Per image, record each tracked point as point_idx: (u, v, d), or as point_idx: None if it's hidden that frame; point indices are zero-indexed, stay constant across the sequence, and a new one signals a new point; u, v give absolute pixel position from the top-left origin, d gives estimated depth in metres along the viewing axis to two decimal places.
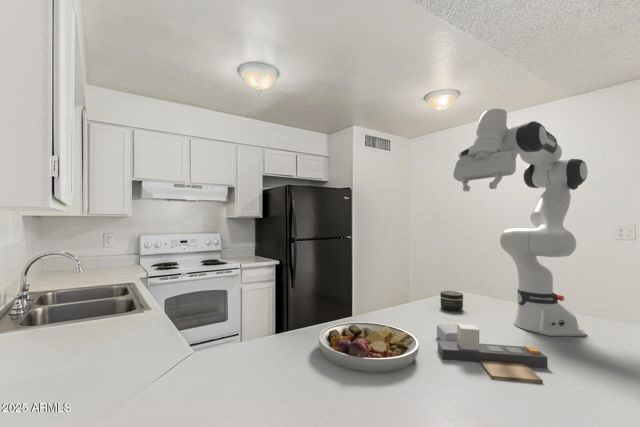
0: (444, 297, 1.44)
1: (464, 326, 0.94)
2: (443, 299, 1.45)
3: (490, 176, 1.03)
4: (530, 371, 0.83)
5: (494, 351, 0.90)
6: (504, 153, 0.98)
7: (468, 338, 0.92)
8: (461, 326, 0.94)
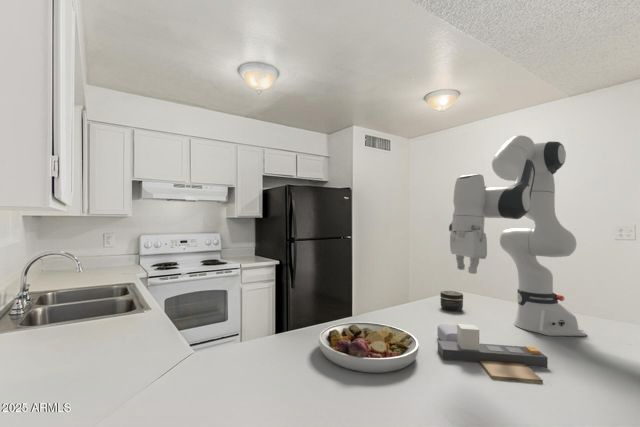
0: (444, 297, 1.44)
1: (464, 326, 0.94)
2: (443, 299, 1.45)
3: None
4: (530, 371, 0.83)
5: (494, 351, 0.90)
6: (471, 235, 0.88)
7: (468, 338, 0.92)
8: (461, 326, 0.94)
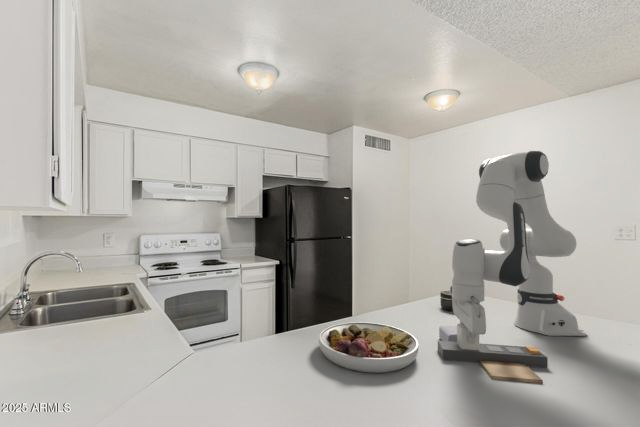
0: (444, 297, 1.44)
1: (464, 326, 0.94)
2: (443, 299, 1.45)
3: None
4: (530, 371, 0.83)
5: (494, 351, 0.90)
6: (469, 309, 0.87)
7: None
8: (461, 326, 0.94)
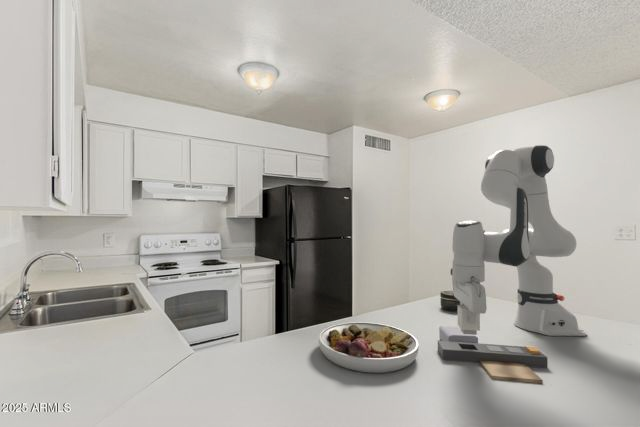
0: (444, 297, 1.44)
1: (464, 307, 0.94)
2: (443, 299, 1.45)
3: None
4: (530, 371, 0.83)
5: (494, 351, 0.90)
6: (470, 289, 0.87)
7: None
8: (461, 307, 0.94)
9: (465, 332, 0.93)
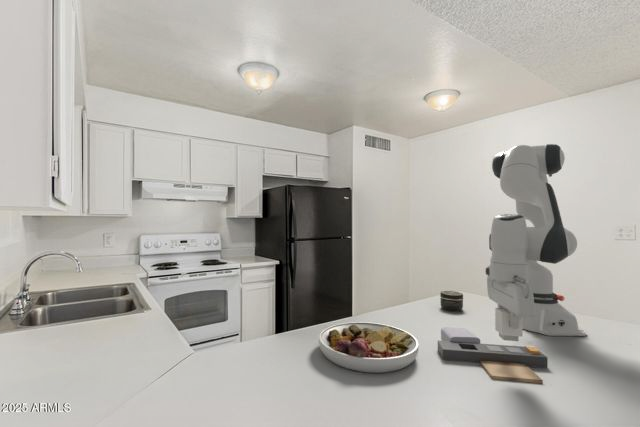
0: (444, 297, 1.44)
1: (504, 310, 0.84)
2: (443, 299, 1.45)
3: None
4: (530, 371, 0.83)
5: (494, 351, 0.90)
6: (514, 290, 0.77)
7: None
8: (501, 310, 0.84)
9: (505, 338, 0.83)
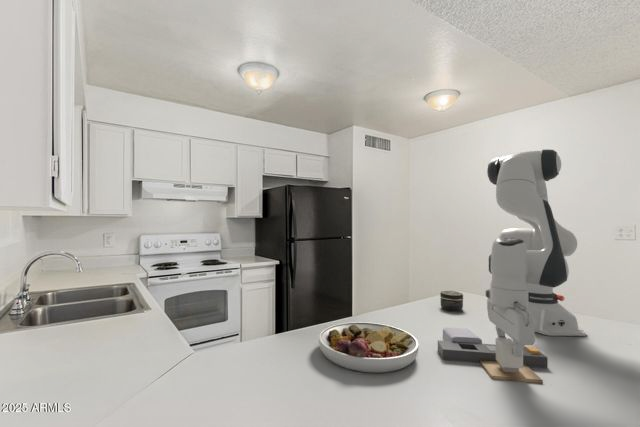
0: (444, 297, 1.44)
1: (505, 341, 0.84)
2: (443, 299, 1.45)
3: None
4: (530, 371, 0.83)
5: (494, 351, 0.90)
6: (514, 317, 0.77)
7: (511, 355, 0.82)
8: (501, 341, 0.84)
9: (506, 370, 0.83)
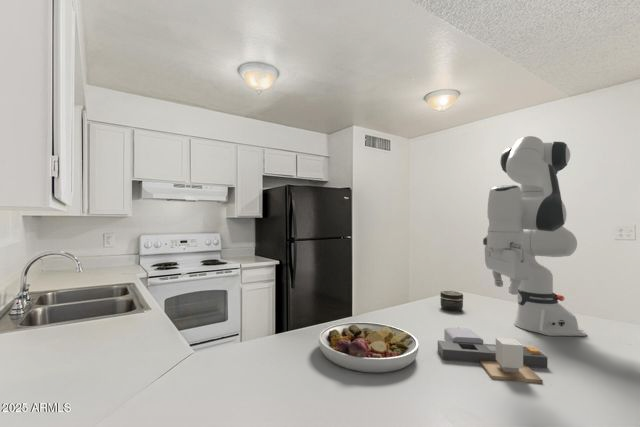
0: (444, 297, 1.44)
1: (505, 341, 0.84)
2: (443, 299, 1.45)
3: None
4: (530, 371, 0.83)
5: (494, 351, 0.90)
6: (510, 255, 0.81)
7: (511, 355, 0.82)
8: (501, 341, 0.84)
9: (506, 370, 0.83)
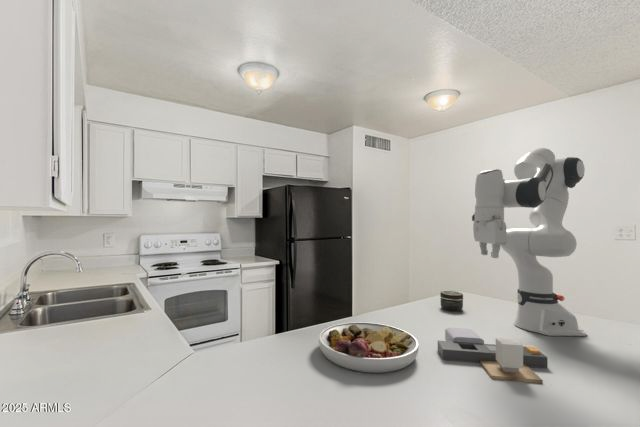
0: (444, 297, 1.44)
1: (505, 341, 0.84)
2: (443, 299, 1.45)
3: None
4: (530, 371, 0.83)
5: (494, 351, 0.90)
6: (492, 225, 1.00)
7: (511, 355, 0.82)
8: (501, 341, 0.84)
9: (506, 370, 0.83)
